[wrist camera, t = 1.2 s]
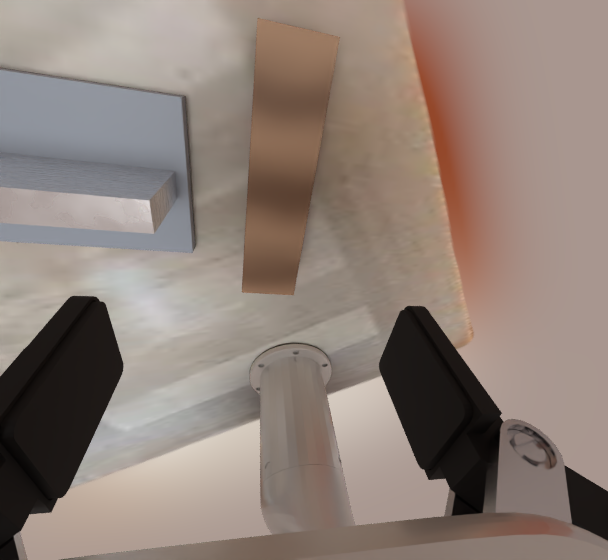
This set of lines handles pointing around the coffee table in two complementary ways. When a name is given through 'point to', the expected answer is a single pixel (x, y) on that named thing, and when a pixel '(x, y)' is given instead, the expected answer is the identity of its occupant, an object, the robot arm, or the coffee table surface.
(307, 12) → the coffee table surface
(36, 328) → the coffee table surface
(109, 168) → the steel ridge
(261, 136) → the walnut batten
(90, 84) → the fulcrum base
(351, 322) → the coffee table surface
